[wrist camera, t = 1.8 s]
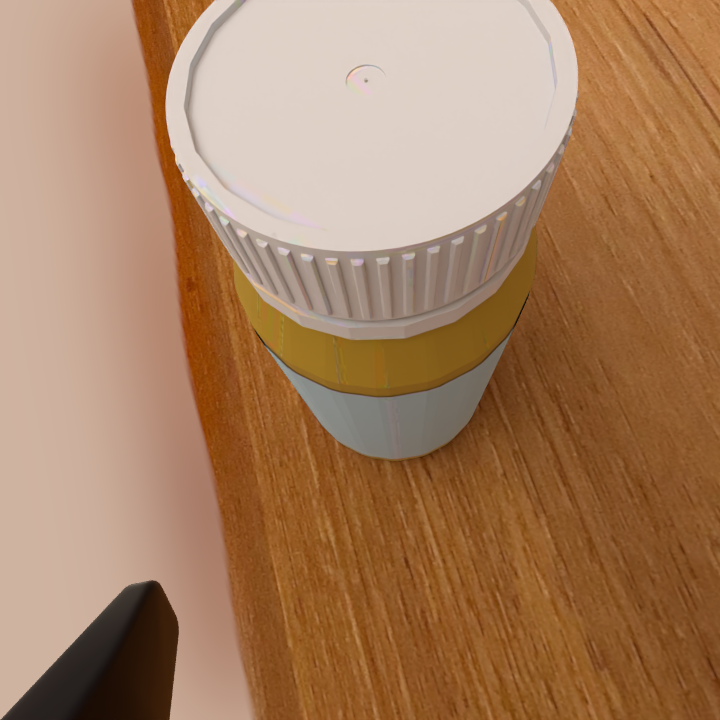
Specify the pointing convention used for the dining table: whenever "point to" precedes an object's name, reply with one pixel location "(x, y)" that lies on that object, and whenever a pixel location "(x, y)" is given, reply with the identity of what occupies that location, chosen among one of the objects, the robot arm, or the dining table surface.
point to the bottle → (377, 192)
